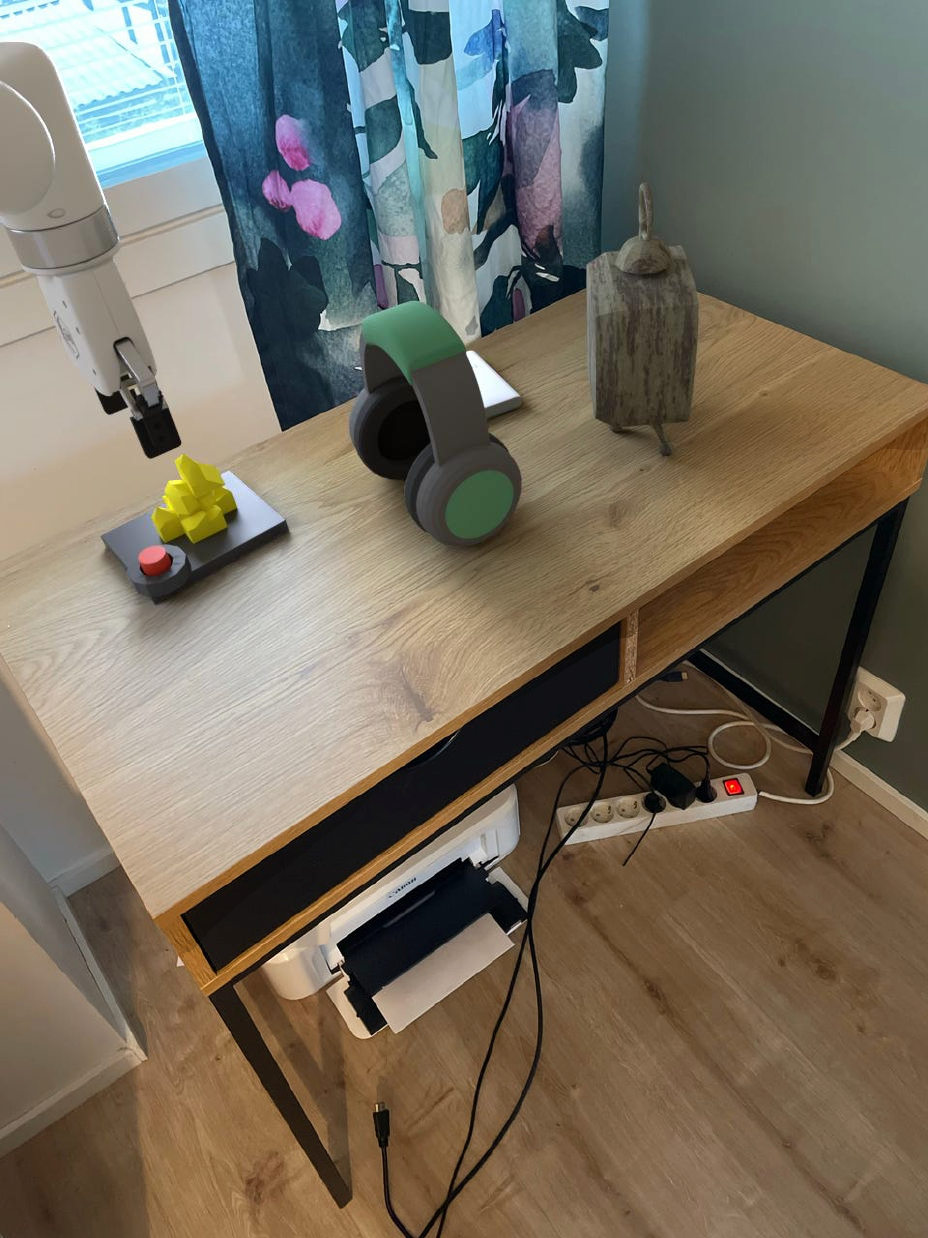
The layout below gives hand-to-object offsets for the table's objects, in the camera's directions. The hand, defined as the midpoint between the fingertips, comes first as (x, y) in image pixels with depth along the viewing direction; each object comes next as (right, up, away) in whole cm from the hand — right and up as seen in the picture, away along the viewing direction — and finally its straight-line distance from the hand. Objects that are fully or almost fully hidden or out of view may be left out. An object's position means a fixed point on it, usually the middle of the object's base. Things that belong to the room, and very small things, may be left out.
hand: (142, 428), depth 80 cm
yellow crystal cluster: (+2, -7, +11) cm, 13 cm away
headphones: (+26, -5, +11) cm, 29 cm away
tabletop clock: (+47, +3, +16) cm, 50 cm away
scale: (+2, -9, +11) cm, 14 cm away
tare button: (0, -12, +4) cm, 13 cm away
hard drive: (+29, +9, +25) cm, 39 cm away
